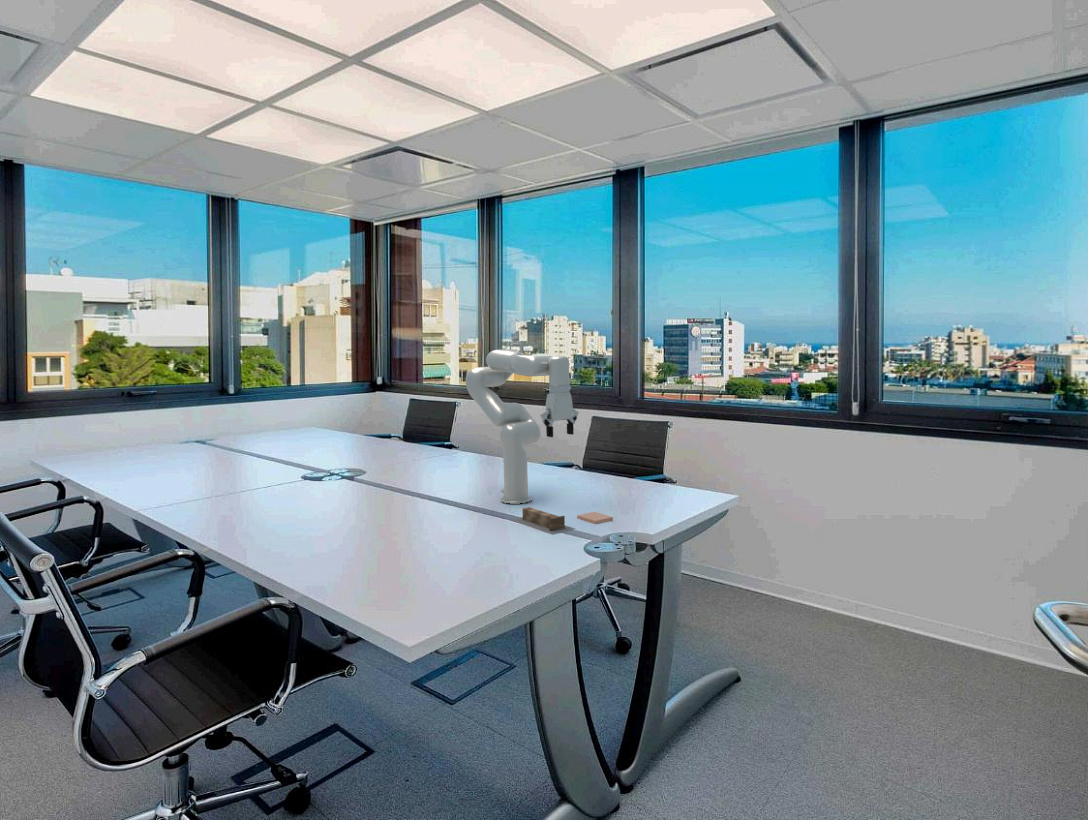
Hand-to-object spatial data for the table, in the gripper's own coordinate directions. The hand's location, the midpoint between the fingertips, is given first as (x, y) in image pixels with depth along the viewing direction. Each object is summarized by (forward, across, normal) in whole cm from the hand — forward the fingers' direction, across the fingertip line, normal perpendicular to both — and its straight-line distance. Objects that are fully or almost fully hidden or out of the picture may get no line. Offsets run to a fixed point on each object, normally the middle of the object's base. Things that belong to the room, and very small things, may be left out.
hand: (560, 435), depth 243 cm
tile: (+28, +1, +15) cm, 31 cm away
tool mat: (+28, +19, +13) cm, 36 cm away
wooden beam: (+28, +19, +12) cm, 36 cm away
